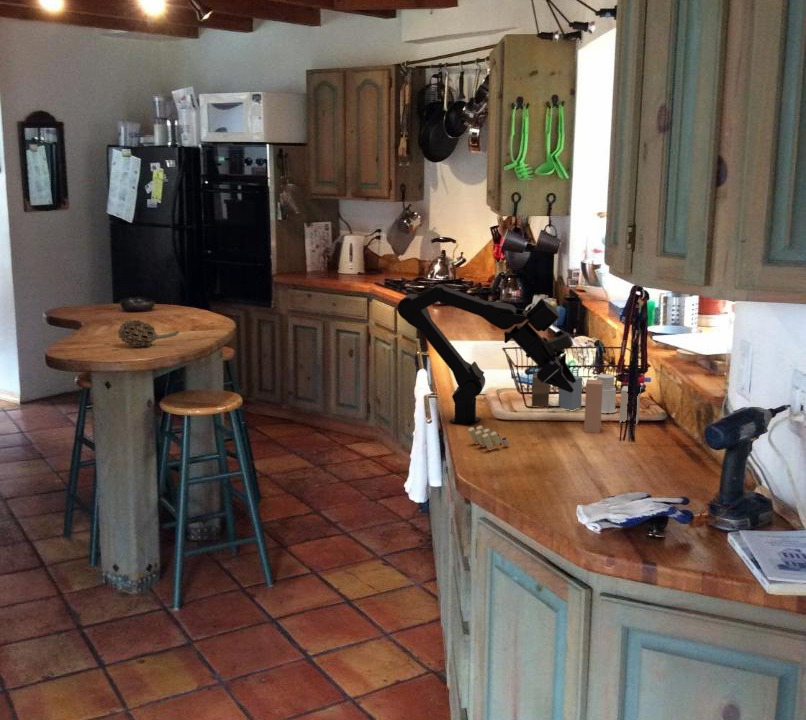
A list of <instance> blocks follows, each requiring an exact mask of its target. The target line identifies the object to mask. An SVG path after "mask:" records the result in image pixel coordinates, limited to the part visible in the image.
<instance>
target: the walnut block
mask: <svg viewBox="0 0 806 720" xmlns="http://www.w3.org/2000/svg"><path fill="white" fill-rule="evenodd" d="M531 384H532V386H531V387H532V390H531V391H532V392H531V394H532V395H531V407H532V406H548V407H549V405H548V403H550V401H549V400H550V384H547V383H546V384H545V383H544V382H543V383H542V382H541V381H540V380H539V379H538V378H537V372H533V374H532V383H531Z"/></svg>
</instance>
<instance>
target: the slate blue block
mask: <svg viewBox="0 0 806 720" xmlns="http://www.w3.org/2000/svg"><path fill="white" fill-rule="evenodd" d="M573 376H574V377H575V379H576V382H574V383H572V382H570V381H568V382H569V383H570V385H571V386H572V388H573V389H574V391H573V392H571V393H570V392H568V391H565V390H563V389H560V388H558V405H557V406H560V407H562V408H565V409H569V410H574V409H576V408H578V407H581V408H582V397H583V395H582V394H583V377H582V376H578V375H573Z"/></svg>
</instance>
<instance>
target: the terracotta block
mask: <svg viewBox="0 0 806 720" xmlns="http://www.w3.org/2000/svg"><path fill="white" fill-rule="evenodd" d="M602 387H603V380H597V379H589V378H588V379H586V383H585V404H584V429H583V431H584V433H593V434H594V433H597V434H600V433H601V427H602V425H601V424H602V423H601V422H602V413H601V408H602Z"/></svg>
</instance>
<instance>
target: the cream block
mask: <svg viewBox="0 0 806 720" xmlns="http://www.w3.org/2000/svg"><path fill="white" fill-rule="evenodd" d="M628 386H629V385H623V386H622V388H621V390H620V406H619V423H620V424H622V423H621V422H622V421H623V422H625V421H626V420H627V402H628V393H627V392H628ZM641 389H642V388H641V387H640V393H639V394H638V396H637V415H636V424H635V425H638V423H639V420H640V407H641V392H642V391H641Z"/></svg>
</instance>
